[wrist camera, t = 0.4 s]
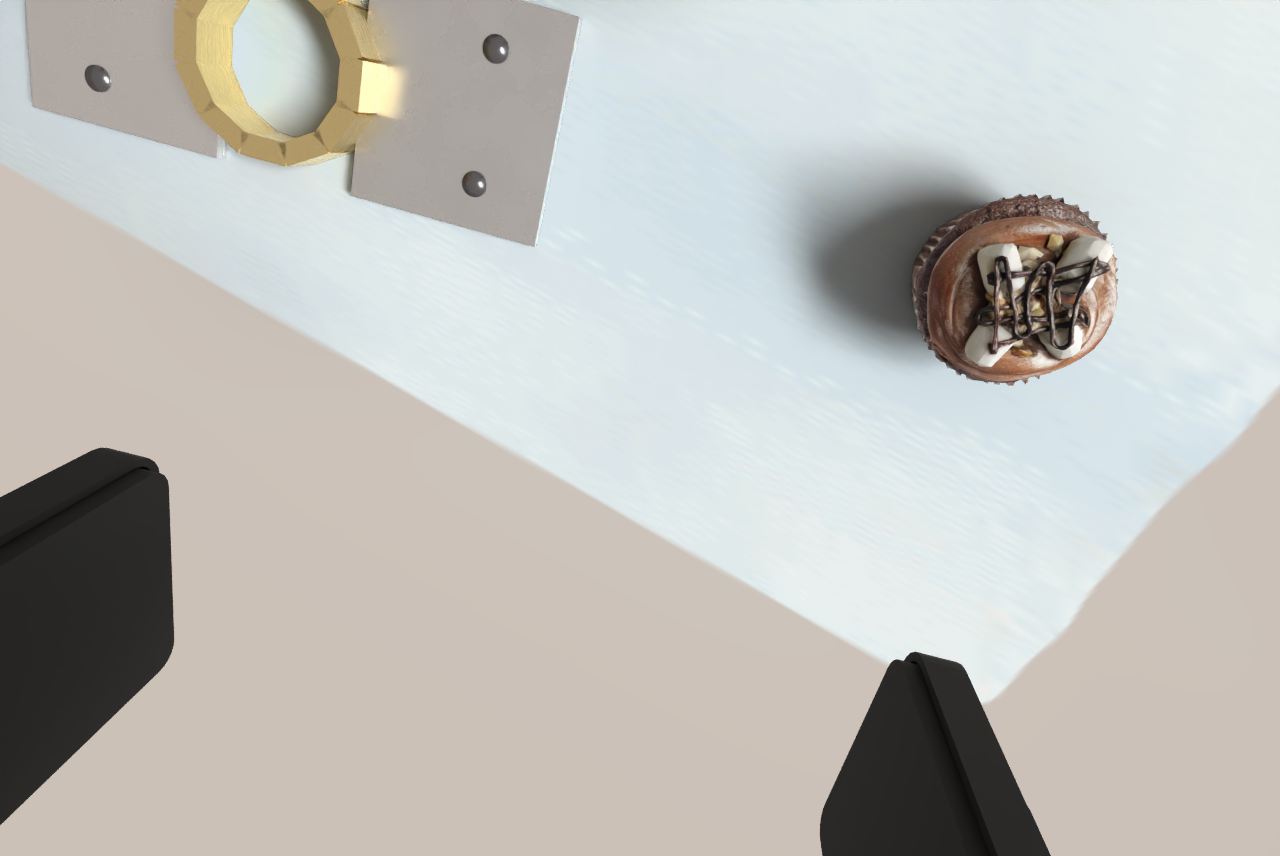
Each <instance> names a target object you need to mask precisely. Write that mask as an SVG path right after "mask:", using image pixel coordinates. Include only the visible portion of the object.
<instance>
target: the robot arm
mask: <svg viewBox="0 0 1280 856" xmlns="http://www.w3.org/2000/svg"><path fill="white" fill-rule="evenodd" d="M173 646H174V623H173V595H172V567H171V538H170V509H169V485H168V480H167V479H166V477H165V476H164V475H162V474H160V473H159V468H158V466H157V465H156V463H155V462H154V461H152V460H151V459H149V458H145V457H141V456H137V455H133V454H129V453H125V452H121V451H117V450H113V449H109V448H98V449H95V450H92V451H90V452H88V453H86V454H84V455H82V456H80V457H78V458H76V459H74V460H72V461H70V462H69V463H67V464H65V465H63V466H61V467H59V468H57V469H55V470H53V471H51V472H49V473H47V474H45V475H43V476H41V477H39V478H37V479H35V480H33V481H31V482H29V483H27V484H26V485H24V486H21V487H20V488H18V489H16V490H14V491H12V492H10V493H8V494H6V495H4V496H2V497H0V825H1V824H2V823H3V822H4V821H5V820H6V819H7V818H8V817H9V816H10V815H11V814H12V813H13V812H14V811H15V810H16V809H17V808H18V807H20V805H22V804H23V803H24V802H25V801H26V800H27V799H28V798H29V797H30V796H31V795H32V794H33V793H34V792H35V791H36V790H37V789H38V788H39V787H40V786H41V785H42V784H43V783H44V782H45V781H46V780H47V779H49V778H50V776H52V774H54V773H55V772H56V771H57V770H58V769H59V768H60V767H61V766H62V765H63V764H64V763H65V762H66V761H67V760H68V759H69V758H70V757H71V756H72V755H73V754H74V753H75V752H76V751H78V750H79V749H80V748H81V747H82V746H83V745H84V744H85V743H86V742H87V741H88V740H89V739H90V738H91V737H92V736H93V735H94V734H95V733H96V732H97V731H98V730H99V729H100V728H101V727H102V726H103V725H104V724H105V723H106V722H107V721H109V720H110V719H111V718H112V717H113V716H114V715H115V714H116V713H117V712H118V711H119V710H120V709H121V708H122V707H123V706H124V705H125V704H126V703H127V702H128V701H129V700H130V699H131V698H132V697H133V696H135V695H136V693H138V692H139V691H140V690H141V689H142V688H143V687H144V686H145V685H146V684H147V683H148V682H149V681H150V680H151V679H152V678H153V677H154V676H155V675H156V674H157V673H158V672H159V671H160V670H161V669H162V668H163V667H164V665H165V664H166V662H167V661H168V659H169V657H170V655H171V652H172V649H173ZM820 841H821V848H822V855H823V856H1051V855H1050V853H1049V851H1048V849H1047V847H1046V844H1045V842H1044V840H1043V838H1042V835H1041V834H1040V831H1039V829H1038V827H1037V825H1036V822H1035V820H1034V818H1033V816H1032V813H1031V811H1030V809H1029V808H1028V806H1027V805H1026V802H1025V800H1024V798H1023V796H1022V794H1021V791H1020V789H1019V787H1018V785H1017V783H1016V780H1015V778H1014V776H1013V774H1012V772H1011V769H1010V767H1009V765H1008V763H1007V760H1006V758H1005V756H1004V754H1003V752H1002V749H1001V748H1000V745H999V743H998V741H997V738H996V736H995V734H994V732H993V730H992V728H991V726H990V723H989V721H988V719H987V716H986V714H985V712H984V710H983V708H982V705H981V703H980V701H979V699H978V696H977V694H976V692H975V690H974V688H973V685H972V683H971V681H970V679H969V677H968V674H967V672H966V670H965V669H964V667H963V666H962V665H961V664H959V663H957V662H954V661H950V660H946V659H942V658H938V657H934V656H930V655H926V654H922V653H918V652H912V653H910V654H909V655H908V656H907V657H906V658H905V660H904V661H901V660H894V661H892V662H891V663H890V665H889V667H888V669H887V671H886V673H885V675H884V677H883V680H882V682H881V684H880V686H879V688H878V691H877V693H876V695H875V697H874V699H873V701H872V704H871V706H870V708H869V710H868V712H867V714H866V717H865V719H864V721H863V723H862V725H861V727H860V730H859V732H858V734H857V736H856V738H855V740H854V743H853V745H852V747H851V749H850V751H849V754H848V755H847V758H846V760H845V762H844V764H843V766H842V769H841V771H840V773H839V775H838V777H837V779H836V781H835V784H834V786H833V788H832V790H831V792H830V794H829V797H828V799H827V801H826V803H825V806H824V808H823V812H822V816H821V823H820Z"/></svg>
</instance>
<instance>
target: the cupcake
mask: <svg viewBox="0 0 1280 856" xmlns="http://www.w3.org/2000/svg"><path fill="white" fill-rule="evenodd" d="M1099 223H1100V221H1091V220H1090V219H1089V211H1088V212H1081V211H1080V210H1079V206H1078V205H1072V206H1071V205H1068V204H1064V199H1063V198H1058V199H1055V200H1054V199H1052V197H1051V195H1047V196H1044V197H1042V198H1040V199H1038V197H1037V195H1036V194H1035V195H1029V196H1027V197H1023V196H1022V195H1021V194H1019V195H1016V196H1015V197H1014V198H1011V199H1005V198H1004V197H1003V198H1001V199H1000V200H998V201H995V202H992V203H987V204H986V205H985V206H984V207H982V208H978V209H977V210H974V211H969V212H967V213H965V214H962V215H960V216H958V217H956V218H955V219H953V220H951V221H948V222H946V223H945V224H944V225H943V226H942V227H940V228H938V229H937V230H936V232H935V233H934V234H933V235H932V236H931V237H930V238H929V240H928V242H927V243H926V244H924V246H923V249H922V251H921V253H920V254H919V255H918V256H917V258H916V260H915V263H914V265H913V272H912V282H913V283H912V285H911V299H912V302H913V305H914V309H915V313H916V316H917V329H918V330H920V331H921V332H922V334H923V341H924V342H927V343H928V349H929V350H934V352H935V356H936V358H937V359H939V360H940V361H942V362H945V363H946V366H947V368H952V369H954V370H955V371H956V373H957V374H958V375H961V374H965V375H966V377H967V380H978V381H984V382H986V383H989V382H993V383H994V384H998V385H999V384H1000V383H1007V385H1013V384H1014V383H1015V381H1019V380H1022V381H1023V382H1024V383H1025V384H1026V383H1027V382H1028V378H1030V377H1034V376H1035V377H1036V378H1038V379H1039V377H1040V375H1043V374H1047V373H1051V372H1053V371H1056V370H1058V369H1061V368H1064V367H1066V366H1068V365H1070V364H1072V363H1073V362H1075V361H1077V360H1079V359H1081V358H1082V357H1083V356H1085V355H1086V354H1088V353H1089V352H1090V351H1092V350H1093V349H1094V348H1095V347H1096V346H1097V344H1098V343H1099V342H1100V341H1101V339H1102V338H1103V337H1104V335H1105V334H1106V332H1107V330H1108V328H1109V326H1110V324H1111V322H1112V318H1113V315H1114V311H1115V307H1116V303H1117V287H1116V285H1117V284H1118V279H1116V272H1117V270H1118V268H1116V265H1115V261H1116V260H1117V258H1115V257H1114V255H1113V248H1114V247H1113V246H1112V245H1113V244H1110V243H1109V242H1108V241H1106V238H1107V233H1100V231H1099V230H1098V224H1099Z"/></svg>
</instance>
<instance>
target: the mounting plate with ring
mask: <svg viewBox="0 0 1280 856" xmlns="http://www.w3.org/2000/svg"><path fill="white" fill-rule="evenodd" d="M308 1H309V2H310V3H311V4H312V5H313V6H314V7H315V8H316V9H317V10H318V11H319V12H320V13H321V14H322V15H323V16H324V18H325V21H326V23H327V26H328V29H329V31H330V34H331V37H332V39H333V42H334V45H335V47H336V50H337V53H338V55H339V58H340V65H339V77H338V89H337V101H336V103H335V104H334V106H333V107H332V108H331V110H330V111H329V113H328V114H327V115H326V117H325V118H324V120H323V121H322V122H321V124H320V125H319V127H318V128H317V130H316V131H315V132H312V133H309V134H306V135H303V136H300V137H297V138H296V137H292V136H289V135H285V134H282V133H278V132H276V131H275V130H274V129H273V128H272V127H271V126H270V125H269V124H268V123H266V122H265V121H264V120H263V119H262V118H261V117H260V116H259V115H258V114H257V113H256V112H255V111H254V110H253V109H251V108H250V107H249V106H248V104H247V102H246V100H245V97H244V95H243V93H242V90H241V88H240V85H239V83H238V81H237V78H236V76H235V74H234V71H233V69H232V36H233V26H234V24H235V22H236V21H237V19H238V18H239V16H240V14H241V13H242V11H243V10H244V8H245V6H246V5H247V3H248V2H249V0H25V4H26V19H27V33H28V48H29V62H30V77H31V91H32V106H33V107H37V108H40V109H44V110H47V111H51V112H55V113H58V114H62V115H65V116H69V117H72V118H76V119H80V120H83V121H87V122H90V123H94V124H97V125H101V126H105V127H108V128H112V129H115V130H119V131H122V132H126V133H130V134H133V135H137V136H140V137H144V138H147V139H151V140H155V141H158V142H162V143H165V144H169V145H172V146H176V147H180V148H183V149H187V150H190V151H194V152H197V153H201V154H205V155H208V156H212V157H215V158H225V157H226V142H227V143H228V144H229V145H230V146H231V147H232V148H233V149H234V150H236V151H237V152H240V154H242V155H246V156H249V157H253V158H256V159H260V160H264V161H267V162H271V163H274V164H278V165H281V166H299V165H312V164H318V163H321V162H324V161H327V160H331V159H334V158H337V157H340V156H343V155H346V154H349V153H352V152H354V150H355V155H354V166H353V176H352V187H351V196H355V197H358V198H362V199H365V200H369V201H372V202H376V203H380V204H383V205H387V206H390V207H394V208H397V209H401V210H405V211H408V212H412V213H415V214H419V215H422V216H426V217H430V218H433V219H437V220H440V221H444V222H447V223H451V224H455V225H458V226H462V227H465V228H469V229H472V230H476V231H480V232H483V233H487V234H490V235H494V236H497V237H501V238H505V239H508V240H512V241H515V242H519V243H522V244H526V245H530V246H533V247H535V246H537V245H538V240H539V235H540V230H541V225H542V220H543V215H544V210H545V205H546V200H547V195H548V189H549V184H550V179H551V174H552V169H553V164H554V159H555V154H556V149H557V144H558V139H559V134H560V129H561V124H562V119H563V114H564V109H565V104H566V99H567V94H568V88H569V83H570V78H571V73H572V68H573V63H574V58H575V53H576V48H577V43H578V38H579V33H580V28H581V23H582V19H581V18H580V17H577V16H573V15H570V14H566V13H563V12H559V11H556V10H552V9H548V8H545V7H541V6H538V5H534V4H531V3H527V2H524V1H520V0H369V7H368V11H366V10H367V8H366V7H365V6H364V5H363V4H362V3H361V2H360V1H359V0H308Z"/></svg>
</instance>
